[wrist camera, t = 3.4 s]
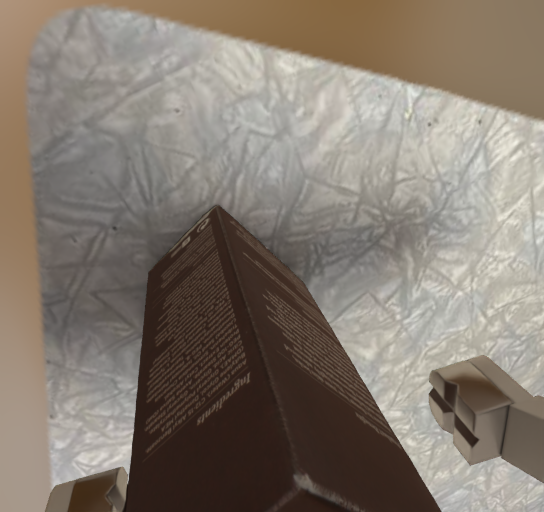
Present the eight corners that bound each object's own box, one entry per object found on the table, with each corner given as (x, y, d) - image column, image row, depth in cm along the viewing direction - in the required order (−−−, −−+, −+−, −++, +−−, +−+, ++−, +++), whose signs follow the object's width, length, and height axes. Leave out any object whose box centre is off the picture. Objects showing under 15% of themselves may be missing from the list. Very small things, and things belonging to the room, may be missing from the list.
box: (141, 276, 16) (94, 654, 6) (217, 200, 16) (321, 463, 5) (241, 348, 19) (335, 692, 8) (308, 285, 18) (500, 570, 8)
